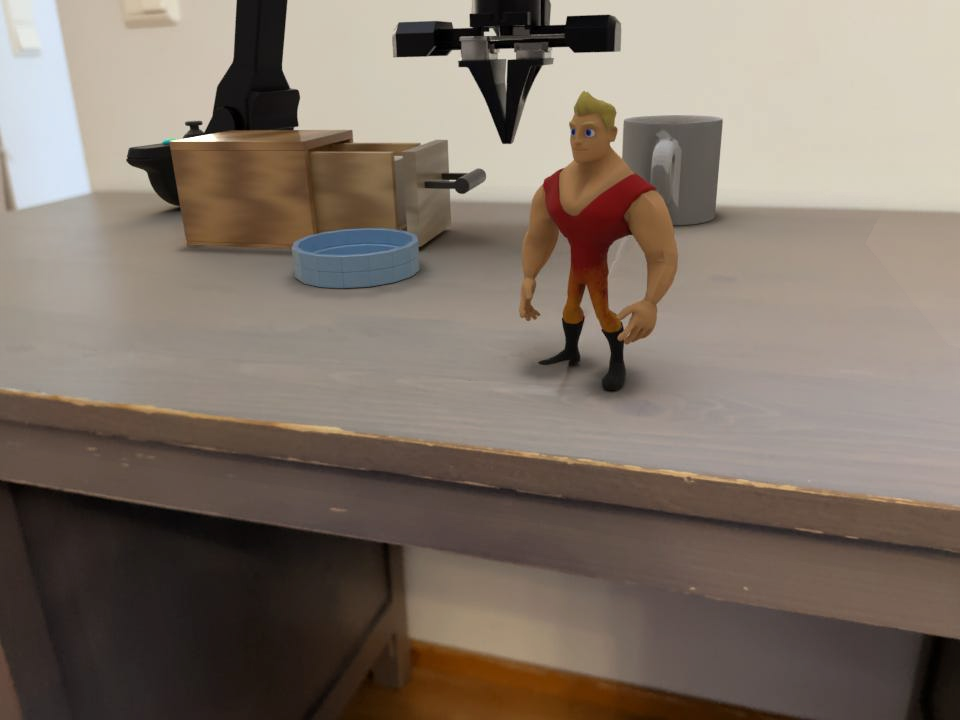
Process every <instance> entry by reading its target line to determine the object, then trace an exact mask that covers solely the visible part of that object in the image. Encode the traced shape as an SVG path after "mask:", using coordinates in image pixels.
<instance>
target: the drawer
mask: <svg viewBox="0 0 960 720" xmlns="http://www.w3.org/2000/svg"><path fill="white" fill-rule="evenodd" d="M308 152H309V161H310V171H311V180H312V190H313V199H314V209H315V218H316V228H317V234H318V233H322V232H329V231H336V230H343V229H359V228H384V229H395V230H402V231H407V232H410V233H412V234H415V235H417V238H418V246H419V248H420V247H423V246H424V245H426V244H427V243H428V242H429V241H431V240H432V239H434V238H436V237H437V236H439V234H441V233H443V232H444V231H446V230H447V229H448V228H450V227H451V226H452V209H451V190H454V191H455V192H456V193H457V194H460V195H464V194H466V193H469V192H470V191H472V190H473V189H474V188H477V187H478V186H480V185H481V184H483V183H485V181H486V179H487V173H486V171H485V170H484V169H482V168H475V169H473V170H471V171H470V172H450V162H449V140H448V139H434V140H432V141H429V142H426V143H423V144H421V142H353V143H332V144H328V145H324V146H320V147H316V148H313V149H309V150H308ZM394 156H403V172H404V188H405V204H406V220H407V222H405V223H404V224H402V225H400V226H399V219H398V204H397V189H396V174H395V159H394Z"/></svg>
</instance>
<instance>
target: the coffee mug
mask: <svg viewBox="0 0 960 720" xmlns="http://www.w3.org/2000/svg"><path fill="white" fill-rule="evenodd" d="M723 123H724V119H723V117H720V116H712V115H698V114H697V115H696V114H695V115H694V114H663V115H645V116H643V115H642V116H633V117H627V118H624V119H623V127H622V131H623V132H622V153H621V158H622V159H623V160H624V161H625V163H626V164H627V165H628V167H629V168H630V169H631V170H632V171H633V172H634V173H635V174H638V175H639V176H640V177H642V178H643V179H644V180H646V181H647V182H649V183H650V184H651V185H653V186H654V187H656V191H657V192H658V193H659V194H660V195H661V196H662V197H663V199H664V202H665V204H666V206H667V208H668V211H669V214H670V217H671V221H672V225H673V226H691V225H699V224H703V223H708V222H711V221H713V220H714V219H715V217H716V209H717V196H718V185H719V184H718V183H719V172H720V171H719V170H720V160H721V149H722V138H723V137H722V135H723Z"/></svg>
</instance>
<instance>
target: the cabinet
mask: <svg viewBox="0 0 960 720" xmlns="http://www.w3.org/2000/svg"><path fill="white" fill-rule="evenodd" d="M179 139H180V140H177V139H176V140H174V141H170V142H169V143H170V149H171V154H172V160H173V166H174V172H175V178H176V184H177V190H178V196H179V202H180V206H179V208H180V213H181V218H182V224H183V231H184V237H185V241H186V248H190V247H193V246H210V247H233V248H234V247H235V248H260V249H261V248H263V249H289V250H290V249H291V250H292V246H293V244H294V242H295V241H297V240H299V239H302V238H304V237H306V236H310V235H314V234H317V228H316V218H315V209H314V199H313V190H312V180H311V171H310V161H309V152H308V150H309V149H313V148H316V147H320V146H324V145H328V144H332V143H354V131H353V129H294V130H231V131H225V132H220V133H214V134H208V135H203V136H197V137H191V138H186V139H182V138H179Z"/></svg>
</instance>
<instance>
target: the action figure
mask: <svg viewBox="0 0 960 720" xmlns="http://www.w3.org/2000/svg"><path fill="white" fill-rule="evenodd" d="M617 113H618V112H617V110H616V107H615V106H614V105H613V104H612V103H609V102H607V101H605V100H601V99H598V98H596V97H594V96H593V95H592V94H591V93H590V92H589V91H586V90H583V91H582V92H581V93H580V94H579V96H578V98H577V99H576V103H575V104H574V106H573V116H572V119H571V121H569V122H568V127H569V129H570V137H569V143H570V147H571V152H572V158H573V160H572V161H571V162H570V163H569V164H567V165H566V166H565V167H562V168H560V169H558V170H556V171H555V172H554V173H552V174H551V175H549V176H547V177H545V178H544V179H543V183H542V184H541V185H540V186H539V188H537V190H536V191H535V192H534V195H533V197H532V199H531V204H530V209H529V217H528V218H529V219H528V221H529V227H528V229H527V230H526V233H525V236H524V237H523V238H524V239H523V242H522V245H521V246H522V247H521V252H522V253H521V260H522V271H523V277H524V278H523V281H522V283H521V287H520V301H519V308H518V312H519V318H521V319H523V318H525V320H526V321H527V322H530V321H531V319H533V320H534V321H536V320H537V319H538V317H541V313H540V312H539V311H538V310H537V309H535V308H534V306H533V305H532V303H531V302H532V300H533V299H534V298H533V297H534V294H535V291H536V288H537V281H536V278H537V277H538V275H539V273H540V272H541V270H542V269H543V268H544V267H545V265H546V264H547V262H548V261H549V259H550V258H551V256H552V254H553V252H554V250H555V248H556V245H557V243H558V241H559V234H560V233H561V235H562V236H563V237H564V238H565V239H566V240H567V242H568V244H569V247H570V269H569V275H568V283H567V290H566V291H567V292H566V294H567V298H566V303H565V305H564V308H563V310H562V317H561V323H562V324H561V325H562V329H563V330H562V331H563V333H564V339H565V341H564V342H565V344H564V349H562V350H561V351H560V352H559V353H557V354H555V355H553V356H551V357H549V358H546V359H542V360H540V361H538V362H537V363H538V365H541V366H549V365H554V364H559V363H561V362H566V361H569V362H568V364H578V363H580V362H581V353H580V351H579V341H580V337H581V334H582V331H583V327H584V324H585V319H586V315H585V313H584V310H583V308H582V307H581V304H582V301H583V297H584V294H585V291H586V288H587V292H588V295H589V298H590V301H591V304H592V307H593V311H594V313H595V317H596V319H597V320H598V322H599V325H600V327H601V330H600V331H601V333H602V334H603V335H604V337H605V339H606V340H607V342H608V346H609V351H610V358H609V362H608V370H607V372H606V374H605V375H604V376H603V378H602V379H601V386H602V388H603V389H605V390H607V391H608V390H609V391H616V390H619V389H620V388H621V387H622V386H623V385H624V383H625V381H626V375H627V370H626V364H625V360H624V349H625V348H624V347H625V345H626V346H627V345H630V344H631V343H635V342H637V341H639V340H642V339H646V338H647V337H649V336H650V335H651V333H652V332H653V331H654V329H655V328H656V325H657V319H658V305H657V304H658V303H659V302H660V301H662V299H663V298H664V297H665V295H666V294H667V293H668V291H669V290H670V288H671V287H672V285H673V283H674V280H675V277H676V275H677V271H678V266H679V265H678V263H679V253H678V245H677V241H676V237H675V229H674V225H672V221H671V217H670V214H669V211H668V208H667V206H666V204H665V202H664V199H663V197H662V196H661V195H660V194H659V193H658V192H657V191H656V187H654V186H653V185H651V184H650V183H649V182H647V181H646V180H644V179H643V178H642V177H640V176H639V175H638V174H635V173H634V172H633V171H632V170H631V169H630V168H629V167H628V165H627V164H626V163H625V161H624V160H623V159H622V156H620V155H619V154H618V153H617V152H616V151H615V150H614V149H613V147H612V146H611V143H614V142H616V138H617V135H618V132H619V131H618V130H619V129H618V127H617V126H616V125H615V121H616V117H617ZM559 232H560V233H559ZM628 236H633V238H634V240H635V241H636V242H637V244H638V246H639V247H640V249H641V250H642V252H643V254H644V258H645V261H646V291H645V296H644V298H643V299H642V300H640V301H637V302H634V303H632V304H630V305H627V306H626V307H624V308H622V310H620V312H619V313H616V312H614V311H613V310H611V309H610V307H609V306H610V305H609V278H608V277H609V273H610V270H609V263H608V253H609V250H610V247H611V246H612V245H613V244H614V243H615V242H616V241H618V240H620V239H622V238H625V237H628ZM629 315H631V316H630V318H629V319H628V320H629V321H628V323H627V325H626V326H625V328H624V324H623V321H622V320H624V319H625V318H626V317H628V316H629Z"/></svg>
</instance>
